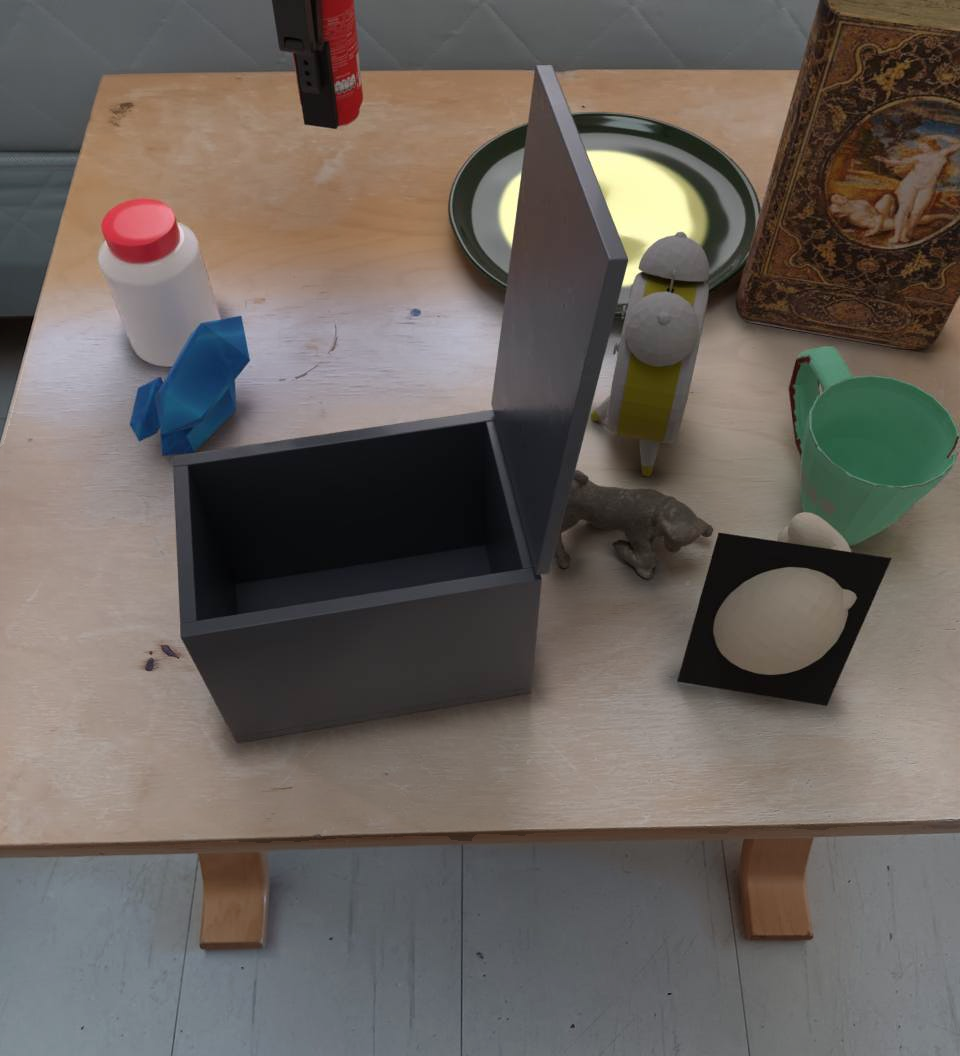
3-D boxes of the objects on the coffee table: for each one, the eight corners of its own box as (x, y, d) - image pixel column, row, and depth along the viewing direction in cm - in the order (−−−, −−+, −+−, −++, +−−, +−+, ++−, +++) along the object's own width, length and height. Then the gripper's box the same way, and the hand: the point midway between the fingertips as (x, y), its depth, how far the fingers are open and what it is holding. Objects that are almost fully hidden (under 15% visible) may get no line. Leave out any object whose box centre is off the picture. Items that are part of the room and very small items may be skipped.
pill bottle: (192, 289, 86) (156, 175, 77) (240, 338, 83) (209, 225, 74) (113, 329, 84) (66, 216, 74) (160, 381, 81) (117, 270, 71)
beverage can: (308, 135, 81) (284, -24, 71) (296, 99, 84) (271, -60, 73) (370, 124, 82) (355, -34, 71) (356, 89, 84) (340, -69, 74)
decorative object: (680, 609, 72) (819, 630, 72) (675, 712, 65) (830, 737, 64) (718, 462, 64) (877, 484, 63) (718, 562, 56) (898, 589, 55)
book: (732, 319, 84) (818, 12, 63) (739, 277, 87) (825, -32, 65) (929, 354, 82) (1089, 48, 61) (931, 309, 85) (1085, 1, 63)
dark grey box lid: (608, 260, 37) (629, 259, 37) (535, 64, 43) (552, 64, 43) (535, 575, 54) (549, 574, 54) (490, 403, 61) (503, 402, 61)
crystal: (86, 401, 71) (177, 271, 74) (139, 459, 79) (219, 341, 82) (170, 439, 69) (259, 305, 72) (215, 495, 77) (294, 373, 80)
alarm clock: (664, 489, 75) (703, 339, 62) (576, 473, 76) (596, 322, 63) (684, 380, 81) (723, 221, 68) (602, 366, 82) (625, 206, 69)
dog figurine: (534, 562, 72) (539, 499, 66) (552, 501, 75) (559, 434, 68) (698, 599, 70) (719, 538, 64) (710, 536, 73) (733, 471, 67)
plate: (752, 354, 82) (759, 331, 80) (422, 317, 85) (421, 294, 82) (758, 148, 96) (765, 124, 94) (475, 121, 98) (475, 96, 96)
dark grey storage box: (236, 743, 65) (180, 637, 53) (224, 582, 71) (172, 455, 59) (531, 692, 67) (542, 579, 55) (494, 540, 73) (497, 408, 61)
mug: (929, 555, 72) (990, 466, 64) (808, 590, 71) (853, 504, 62) (833, 412, 79) (876, 314, 71) (721, 441, 78) (751, 344, 69)
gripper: (300, -190, 57) (344, 177, 77) (382, -307, 66) (403, 48, 86) (177, -203, 58) (253, 163, 78) (275, -317, 67) (320, 37, 87)
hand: (332, 102), depth 82 cm, fingers closed on beverage can, 5 cm apart
